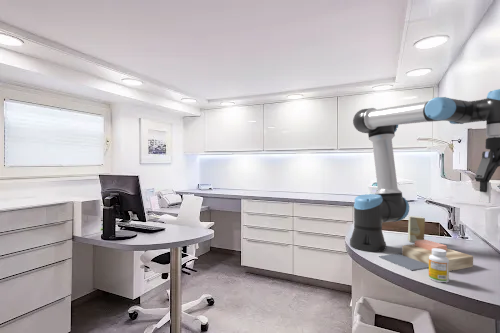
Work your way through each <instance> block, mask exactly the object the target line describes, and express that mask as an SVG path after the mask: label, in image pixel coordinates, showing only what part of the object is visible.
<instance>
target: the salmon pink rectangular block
mask: <svg viewBox="0 0 500 333" xmlns="http://www.w3.org/2000/svg"><path fill="white" fill-rule="evenodd" d="M414 244H415V246H418V247H421V248H424V249H427V250H431V251H432V249H433V248H438V249H443V250H446V251H447V249H448V246H447V245H446V244H442V243H438V242H436V241H432V240H429V239H424V240H417V241H415V242H414Z"/></svg>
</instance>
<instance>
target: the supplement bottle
mask: <svg viewBox="0 0 500 333" xmlns="http://www.w3.org/2000/svg"><path fill="white" fill-rule="evenodd" d="M446 255H447V253H446V250H443V249H438V248H433V249H432V255H430V256H429V268H428V278H429V279H430V280H431V279H432V280H431V281H433V280H434V281H433V282H436V281H437V282H436V283H441V282H446V283H448V282H449V280H450V278H449V277H450V275H449V274H450V271H449V259H448V258H447V257H446Z"/></svg>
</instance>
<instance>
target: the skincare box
mask: <svg viewBox="0 0 500 333" xmlns="http://www.w3.org/2000/svg"><path fill="white" fill-rule="evenodd" d="M425 221H426V219H425V217H423V216H419V215H408V225H407V226H408V228H407V229H408V230H407V240H408V241H409V242H410V243H415V241H417V240H425V224H426V222H425Z"/></svg>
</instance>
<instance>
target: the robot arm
mask: <svg viewBox="0 0 500 333" xmlns="http://www.w3.org/2000/svg"><path fill="white" fill-rule="evenodd" d="M441 121H442V122H443V121H445V122H446V121H447V122H449V123H450V124H452V125H458V124H460V125H463V124H469V123H477V122H485V123H486V125H485V126H486V127H485V137H486V139H485V145H484V146H485V150H489V151H482V154H481V158H480V159H481V160H480V163H479V165H478V168H477V170H476V173H475V176H474V180H475V182H478V183H479V196H478V197H479V199H478V201H479V202H480V203H487V204H490V203H491V195H492V193H491V192H492V182H490V180H491V179H492V177H493V176H494V173H495V172H496V170H497V169H498V168H499V167H500V88H498V89H494V90H490V91H489V92H488V93H487V95H486V98H482V99H478V100H476V99H475V100H469V101H468V100H462V99H457V98H450V97H446V96H440V97H439V96H437V97H434V98H432V99H430V100H426V101H422V102H421V101H420V102H414V103H410V104H409V103H407V104H402V105H397V106H389V107H384V108H378V109H377V108H374V107H370V108H362V109H359V110H358V111H356V113H355V114H354V115H353V119H352V124H353V126H354V129H356V131H358V132H360V133H363V134H367V135H368V140H370V141H371V143H372V148H373V159H374V167H375V175H376V176H375V177H376V186H377V191H376V192H375V193H368V194H367V193H366V194H361V195H357V196H356V197H355V198H354V204H353V212H354V216H353V218H354V219H353V220H354V221H353V226H354V227H353V231H352V232H351V233H352V234H351V237H350V238H349V245H350V247H351V248H354V249H355V250H360V251H364V252H383V251H385V250H386V249H387V243H386V241H385V237H384V233H383V230H382V229H383V223H389V222H391V223H392V222H398V221H402V220H404V219H405V218H406V217H407V216H409V213H410V203H409V202H408V200H407V199H406V198H405V197H404V196H403V192H402V191H401V190H400V189H399V188H398V180H397V173H396V171H397V170H396V164H395V155H394V146H393V138H394V137H395V136H396V135H395V133H396V132H397V130H398V128H399V126H400V125H407V124H418V123H427V122H429V123H431V122H432V123H433V122H441Z"/></svg>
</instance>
